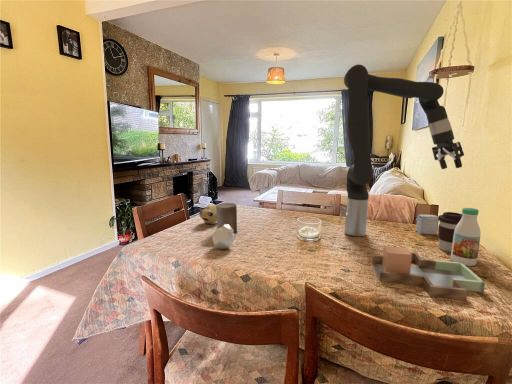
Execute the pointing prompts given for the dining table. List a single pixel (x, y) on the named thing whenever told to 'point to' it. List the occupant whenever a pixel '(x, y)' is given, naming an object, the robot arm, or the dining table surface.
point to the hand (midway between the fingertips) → (451, 168)
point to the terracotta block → (396, 260)
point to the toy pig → (209, 214)
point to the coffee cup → (447, 229)
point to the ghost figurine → (223, 237)
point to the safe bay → (472, 279)
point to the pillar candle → (227, 215)
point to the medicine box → (427, 224)
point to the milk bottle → (466, 238)
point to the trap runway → (425, 278)
